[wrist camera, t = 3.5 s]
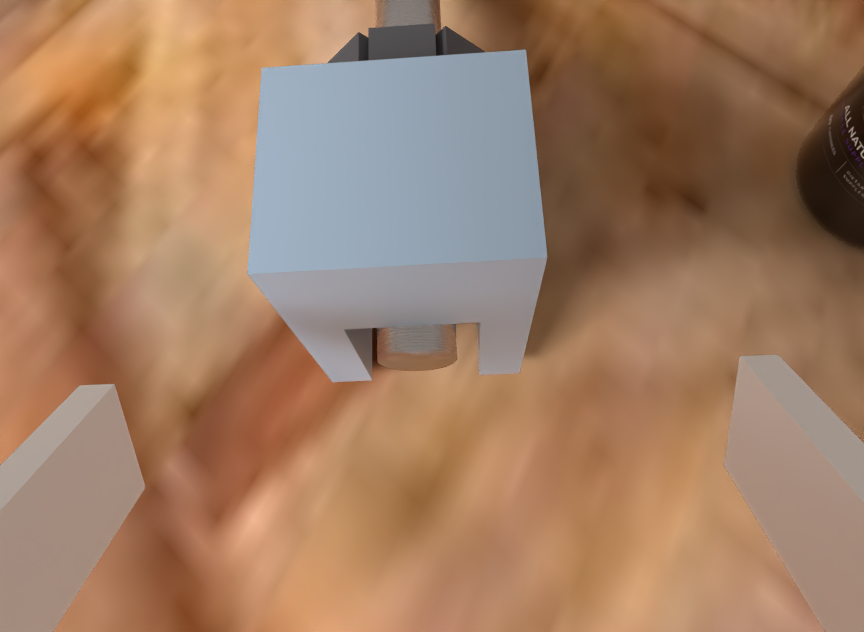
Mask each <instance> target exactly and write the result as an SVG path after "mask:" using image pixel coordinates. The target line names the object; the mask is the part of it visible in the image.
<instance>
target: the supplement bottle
mask: <svg viewBox="0 0 864 632" xmlns="http://www.w3.org/2000/svg"><path fill="white" fill-rule="evenodd" d="M796 179H797V185H798V189H799V192H800V195H801V197H802V200H803V202H804V204H805V205H806V207H807V209H808V210H809V212H810V213H811V214H812V216H813V217H814V218H815V219H816V220H817V222H818V223H819V224H820V225H821V226H822V227H824V228H825V229H826V230H827V231H828V232H830V233H831V234H832V235H834V236H835V237H837V238H838V239H840V240H842V241H844V242H846V243H847V244H850V245H852V246H854V247H857V248H859V249H862V250H864V66H863V67H862V69H861V70H860V71H859V72H858V73H857V75H856V76H855V77H854V78H853V80H852V81H851V82H850V83H849V85H848V86H847V87H846V88H845V89H844V91H843V92H842V93H841V94H840V96H839V97H838V98H837V99H836V100H835V102H834V103H833V104H832V105H831V107H830V108H829V109H828V110H827V111H826V113H825V114H824V115H823V116H822V118H821V119H820V120H819V121H818V123H817V124H816V125H815V127H814V128H813V129H812V130H811V132H810V133H809V134H808V136H807V138H806V139H805V141H804V142H803V144H802V146H801V148H800V151H799V154H798V158H797V163H796Z"/></svg>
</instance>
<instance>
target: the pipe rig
mask: <svg viewBox="0 0 864 632" xmlns="http://www.w3.org/2000/svg"><path fill="white" fill-rule="evenodd" d="M433 23H435V34H437V33H438V32H439V31H440V30H441V15H440V0H376V28H377V27H391V26H405V25H419V24H433ZM456 360H457V346H456V325H455V324H441V325H422V326H402V327H383V328H377V361H378V363H379V364H380V365H382V366H384V367H387V368H390V369H395V370H404V371H424V370H433V369H439V368H443V367H446V366H449V365H451V364H453V363H454V362H456Z"/></svg>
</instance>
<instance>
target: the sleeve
mask: <svg viewBox="0 0 864 632" xmlns="http://www.w3.org/2000/svg"><path fill="white" fill-rule="evenodd" d="M546 262H547V248H546V238H545V229H544V219H543V209H542V200H541V190H540V180H539V171H538V161H537V151H536V142H535V132H534V122H533V113H532V103H531V93H530V84H529V74H528V65H527V55H526V50H513V51H498V52H484V53H469V54H455V55H441V56H426V57H412V58H397V59H383V60H368V61H354V62H340V63H325V64H311V65H296V66H282V67H267V68H262V73H261V87H260V101H259V116H258V130H257V145H256V159H255V173H254V188H253V202H252V217H251V231H250V245H249V260H248V275H249V277H250V278H251V279H252V280H253V282H254V283H255V284H256V286H257V287H258V288H259V289H260V291H261V292H262V293H263V294H264V296H265V297H266V298H267V300H268V301H269V302H270V303H271V305H272V306H273V307H274V308H275V310H276V311H277V312H278V313H279V315H280V316H281V317H282V319H283V320H284V321H285V322H286V324H287V325H288V326H289V327H290V329H291V330H292V331H293V333H294V334H295V335H296V336H297V338H298V339H299V340H300V341H301V343H302V344H303V345H304V347H305V348H306V349H307V350H308V352H309V353H310V354H311V355H312V357H313V358H314V359H315V360H316V362H317V363H318V364H319V366H320V367H321V368H322V369H323V371H324V372H325V373H326V374H327V376H328V377H329V378H330V380H331V381H332V382H346V381H367V380H372V328H383V327H402V326H422V325H441V324H461V323H476V331H477V347H478V364H479V375H492V374H513V373H520V370H521V365H522V361H523V357H524V353H525V349H526V345H527V341H528V336H529V332H530V328H531V324H532V320H533V316H534V311H535V307H536V303H537V299H538V295H539V291H540V287H541V282H542V278H543V274H544V270H545V266H546Z"/></svg>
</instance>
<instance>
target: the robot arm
mask: <svg viewBox="0 0 864 632" xmlns="http://www.w3.org/2000/svg"><path fill="white" fill-rule="evenodd" d="M724 467H725V469H726V470H727V472H728V474H729V475H730V477H731V479H732V480H733V482H734V483H735V485H736V487H737V488H738V490H739V492H740V493H741V495H742V497H743V498H744V500H745V502H746V503H747V505H748V506H749V508H750V510H751V511H752V513H753V515H754V516H755V518H756V520H757V521H758V523H759V525H760V526H761V528H762V529H763V531H764V533H765V534H766V536H767V538H768V539H769V541H770V543H771V544H772V546H773V548H774V549H775V551H776V553H777V554H778V556H779V557H780V559H781V561H782V562H783V564H784V566H785V567H786V569H787V571H788V572H789V574H790V576H791V577H792V579H793V580H794V582H795V584H796V585H797V587H798V589H799V590H800V592H801V594H802V595H803V597H804V599H805V600H806V602H807V603H808V605H809V607H810V608H811V610H812V612H813V613H814V615H815V617H816V618H817V620H818V622H819V623H820V625H821V626H822V628H823V630H824V631H825V632H864V443H863V442H862V441H861V440H860V439H859V438H858V437H857V436H856V435H855V434H854V433H853V432H852V431H851V430H850V429H849V427H848V426H847V425H846V424H845V423H844V422H843V421H842V420H841V419H840V418H839V417H838V416H837V415H836V414H835V413H834V412H833V411H832V410H831V409H830V408H829V407H828V406H827V405H826V404H825V403H824V402H823V401H822V400H821V398H820V397H819V396H818V395H817V394H816V393H815V392H814V391H813V390H812V389H811V388H810V387H809V386H808V385H807V384H806V383H805V382H804V381H803V380H802V379H801V378H800V377H799V376H798V375H797V374H796V373H795V372H794V371H793V369H792V368H791V367H790V366H789V365H788V364H787V363H786V362H785V361H784V360H783V359H782V358H781V357H780V356H779V355H778V354H777V355H754V356H740V358H739V365H738V372H737V379H736V386H735V392H734V399H733V406H732V413H731V420H730V427H729V434H728V441H727V448H726V455H725V462H724ZM144 489H145V484H144V481H143V478H142V474H141V471H140V468H139V464H138V461H137V458H136V454H135V451H134V448H133V444H132V441H131V438H130V434H129V431H128V428H127V424H126V421H125V418H124V414H123V411H122V408H121V404H120V401H119V398H118V394H117V391H116V388H115V384H104V385H81V386H79V387H78V388H77V389H76V390H75V391H74V392H73V393H72V394H71V395H70V396H69V397H68V398H67V399H66V400H65V401H64V402H63V403H62V404H61V405H60V406H59V407H58V408H57V409H56V410H55V411H54V412H53V413H52V414H51V415H50V416H49V417H48V418H47V419H46V420H45V421H44V422H43V423H42V424H41V425H40V426H39V427H38V428H37V429H36V430H35V431H34V432H33V433H32V434H31V435H30V436H29V437H28V438H27V439H26V440H25V441H24V442H23V443H22V444H21V445H20V446H19V447H18V448H17V449H16V450H15V451H14V452H13V453H12V454H11V455H10V456H9V457H8V458H7V459H6V460H5V461H4V462H3V463H2V464H1V465H0V632H53V631H54V630H55V628H56V627H57V625H58V624H59V622H60V620H61V619H62V617H63V616H64V614H65V613H66V611H67V610H68V608H69V606H70V605H71V603H72V602H73V600H74V599H75V597H76V595H77V594H78V592H79V591H80V589H81V588H82V586H83V584H84V583H85V581H86V580H87V578H88V577H89V575H90V573H91V572H92V570H93V569H94V567H95V566H96V564H97V563H98V561H99V559H100V558H101V556H102V555H103V553H104V552H105V550H106V548H107V547H108V545H109V544H110V542H111V541H112V539H113V537H114V536H115V534H116V533H117V531H118V530H119V528H120V527H121V525H122V523H123V522H124V520H125V519H126V517H127V516H128V514H129V512H130V511H131V509H132V508H133V506H134V505H135V503H136V501H137V500H138V498H139V497H140V495H141V494H142V492H143V490H144Z"/></svg>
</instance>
